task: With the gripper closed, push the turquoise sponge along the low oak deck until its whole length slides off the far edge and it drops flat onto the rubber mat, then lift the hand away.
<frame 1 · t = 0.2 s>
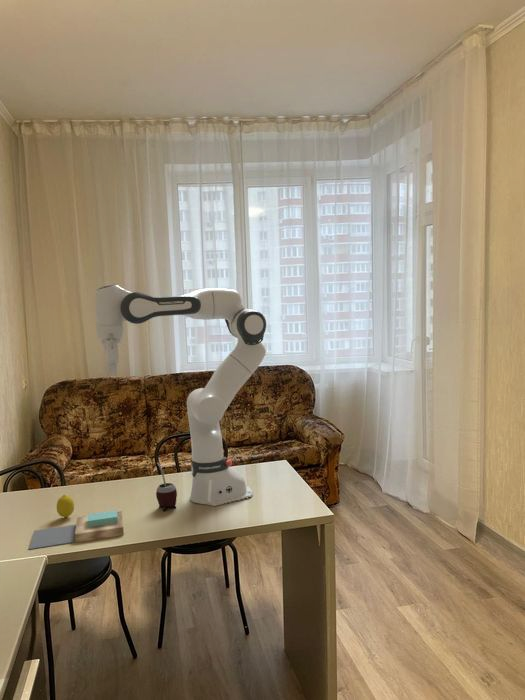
hand: (113, 374, 183), 47 cm above the table, tool pointing down, fingers open, 8 cm apart
turquoise sponge: (102, 521, 170), point 2 cm above the table, touching deck
mate gourd: (166, 508, 187), on the table
deck: (100, 529, 170), on the table
mat: (54, 536, 166), on the table
lemon: (66, 518, 181), on the table
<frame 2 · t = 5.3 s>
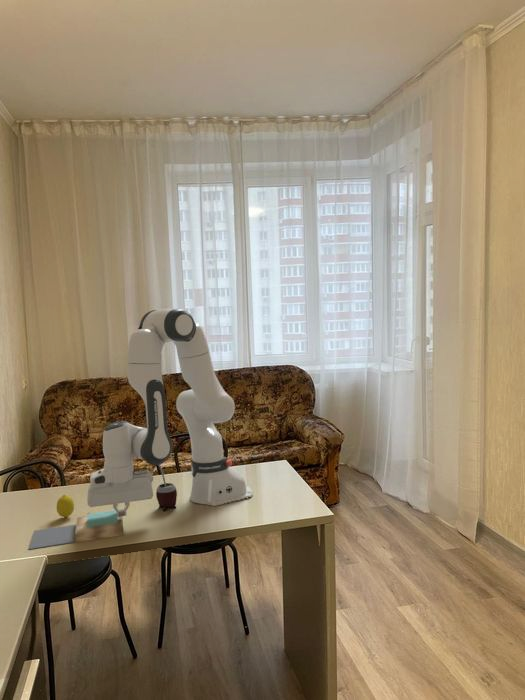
hand: (121, 515, 172), 3 cm above the table, tool pointing down, fingers closed
turquoise sponge: (102, 521, 170), point 3 cm above the table, touching deck, gripper
everything else where it was.
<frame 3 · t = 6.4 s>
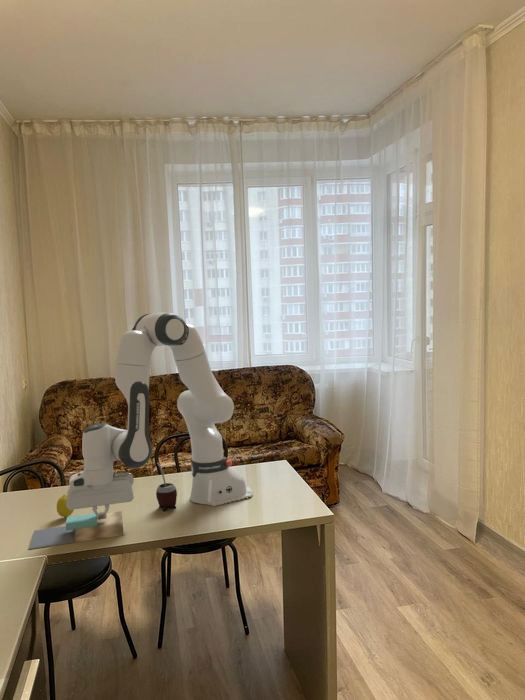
hand: (101, 518, 170), 4 cm above the table, tool pointing down, fingers closed
turquoise sponge: (82, 524, 168), point 3 cm above the table
everything else where it was.
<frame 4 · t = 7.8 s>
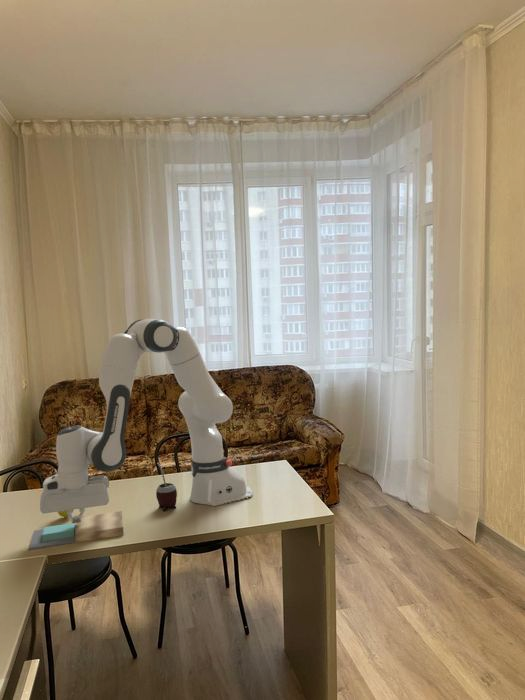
hand: (76, 522, 168), 4 cm above the table, tool pointing down, fingers closed
turquoise sponge: (59, 534, 167), resting on mat
everything else where it was.
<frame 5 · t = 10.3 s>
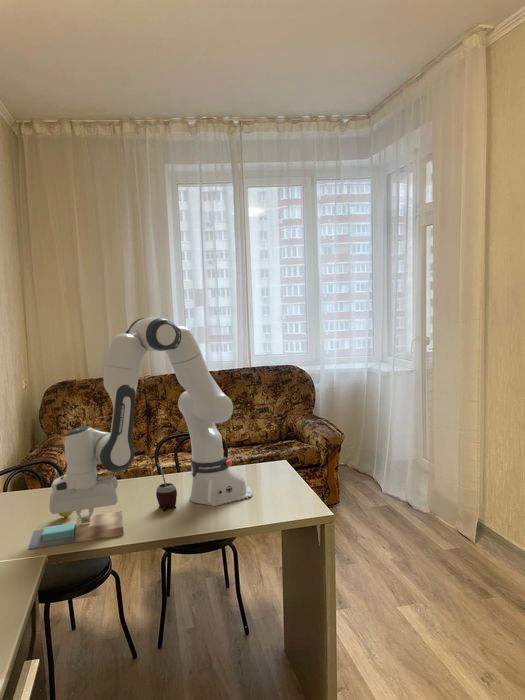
hand: (85, 522, 169), 3 cm above the table, tool pointing down, fingers closed
nothing on the table moved.
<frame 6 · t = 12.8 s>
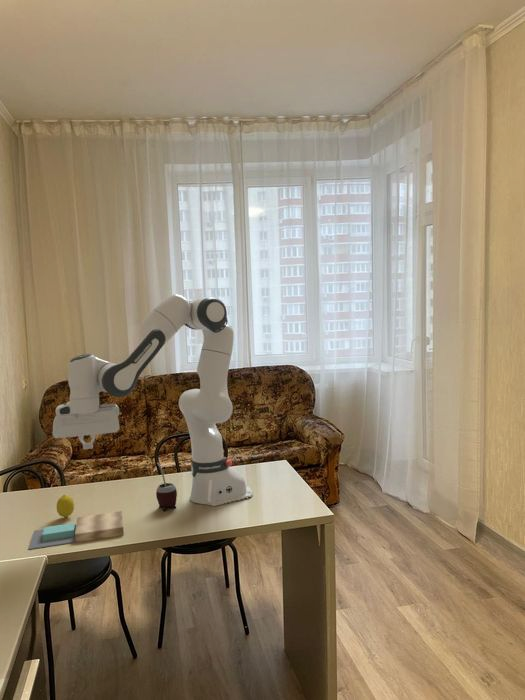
hand: (88, 448, 172), 25 cm above the table, tool pointing down, fingers closed
nothing on the table moved.
at the end: turquoise sponge resting on mat; turquoise sponge inside the target area (1.5 cm from its centre), resting on mat; turquoise sponge touching mat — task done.
